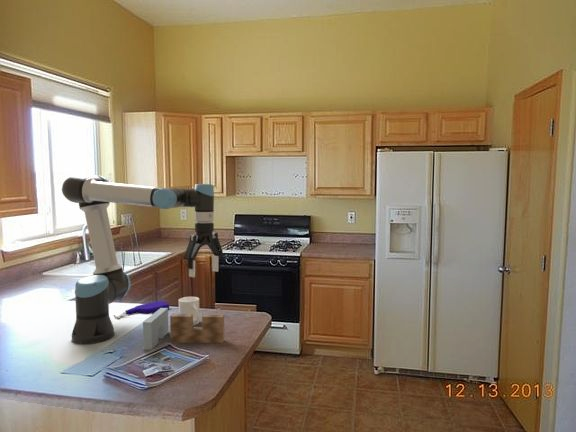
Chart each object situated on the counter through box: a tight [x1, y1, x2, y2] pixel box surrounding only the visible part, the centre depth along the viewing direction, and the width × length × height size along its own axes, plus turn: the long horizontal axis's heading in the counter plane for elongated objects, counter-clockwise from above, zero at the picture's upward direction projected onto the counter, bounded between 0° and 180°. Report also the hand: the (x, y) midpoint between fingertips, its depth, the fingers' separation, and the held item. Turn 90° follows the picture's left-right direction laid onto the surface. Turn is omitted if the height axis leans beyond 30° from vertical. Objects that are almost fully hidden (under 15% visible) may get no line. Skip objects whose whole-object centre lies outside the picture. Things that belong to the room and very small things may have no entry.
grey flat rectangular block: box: [142, 308, 169, 350], centre depth 160 cm, size 3×18×10 cm, turn 177°
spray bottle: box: [113, 300, 170, 319], centre depth 197 cm, size 3×11×24 cm
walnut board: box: [169, 313, 225, 344], centre depth 159 cm, size 20×3×10 cm, turn 87°
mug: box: [178, 296, 200, 327], centre depth 179 cm, size 9×12×11 cm
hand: (204, 274), depth 170 cm, fingers open, 13 cm apart
